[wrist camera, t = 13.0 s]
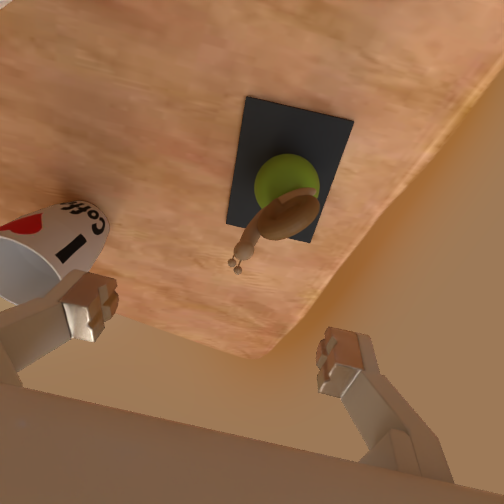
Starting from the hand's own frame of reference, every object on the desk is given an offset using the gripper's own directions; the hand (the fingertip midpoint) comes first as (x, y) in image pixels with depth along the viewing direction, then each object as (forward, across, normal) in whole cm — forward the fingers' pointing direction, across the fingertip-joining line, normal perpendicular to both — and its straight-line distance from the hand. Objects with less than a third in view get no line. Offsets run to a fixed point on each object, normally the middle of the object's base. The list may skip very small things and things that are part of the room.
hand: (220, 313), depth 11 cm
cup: (+19, +18, +11) cm, 29 cm away
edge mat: (+19, -2, +1) cm, 19 cm away
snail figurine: (+19, -2, +1) cm, 19 cm away
